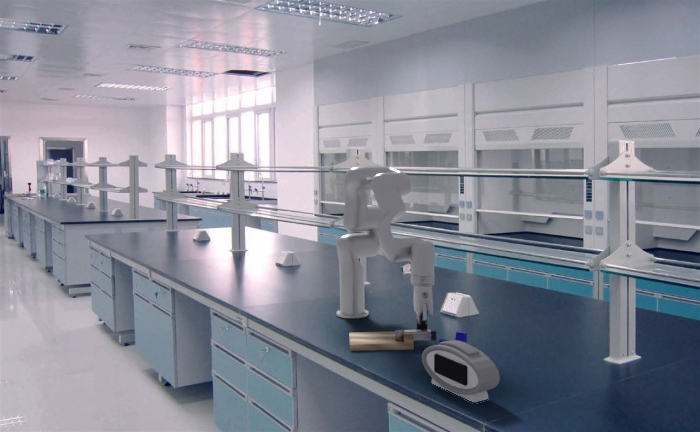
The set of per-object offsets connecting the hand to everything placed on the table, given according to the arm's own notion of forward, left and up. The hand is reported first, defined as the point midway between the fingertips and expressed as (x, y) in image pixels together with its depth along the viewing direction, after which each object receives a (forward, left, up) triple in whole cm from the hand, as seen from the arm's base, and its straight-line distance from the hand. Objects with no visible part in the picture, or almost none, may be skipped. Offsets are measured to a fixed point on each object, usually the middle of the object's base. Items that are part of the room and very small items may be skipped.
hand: (421, 335), depth 200 cm
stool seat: (-1, -13, -3) cm, 14 cm away
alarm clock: (+43, +3, -3) cm, 43 cm away
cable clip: (+13, +8, -3) cm, 16 cm away
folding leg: (+3, -3, 0) cm, 4 cm away
